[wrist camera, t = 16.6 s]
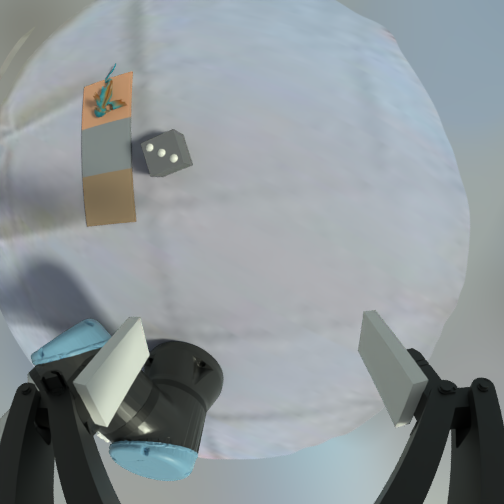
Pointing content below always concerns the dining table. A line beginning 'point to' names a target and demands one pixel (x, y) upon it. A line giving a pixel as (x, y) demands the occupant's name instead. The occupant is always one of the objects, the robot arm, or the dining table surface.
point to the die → (166, 154)
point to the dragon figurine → (106, 99)
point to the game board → (108, 156)
